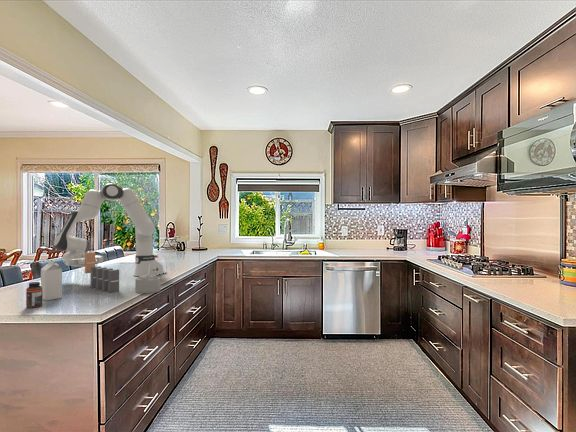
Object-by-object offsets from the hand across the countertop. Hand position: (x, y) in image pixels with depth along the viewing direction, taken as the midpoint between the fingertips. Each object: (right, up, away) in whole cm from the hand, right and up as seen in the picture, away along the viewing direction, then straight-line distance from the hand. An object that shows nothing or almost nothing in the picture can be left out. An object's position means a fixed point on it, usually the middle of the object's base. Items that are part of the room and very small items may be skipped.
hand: (90, 261), depth 198 cm
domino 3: (+16, -15, -10) cm, 24 cm away
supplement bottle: (0, -15, -45) cm, 47 cm away
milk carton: (-3, -15, -29) cm, 33 cm away
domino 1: (+5, -15, -3) cm, 16 cm away
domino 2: (+10, -15, -7) cm, 19 cm away
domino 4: (+21, -15, -14) cm, 29 cm away
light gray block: (+39, -15, -11) cm, 44 cm away
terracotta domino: (-1, -7, 0) cm, 7 cm away
